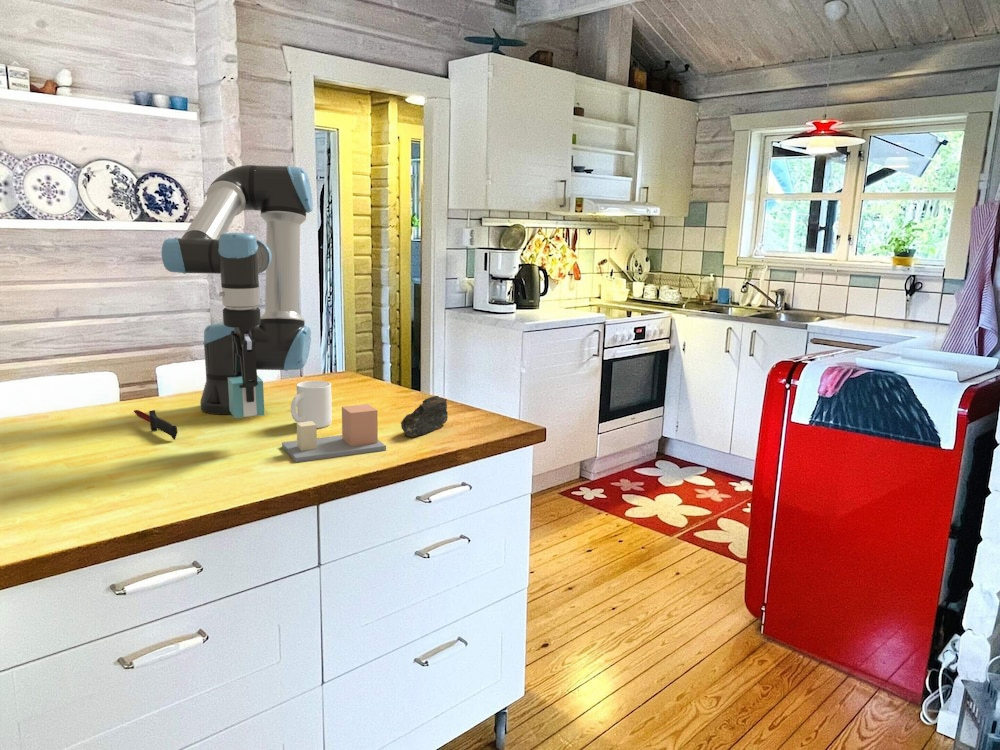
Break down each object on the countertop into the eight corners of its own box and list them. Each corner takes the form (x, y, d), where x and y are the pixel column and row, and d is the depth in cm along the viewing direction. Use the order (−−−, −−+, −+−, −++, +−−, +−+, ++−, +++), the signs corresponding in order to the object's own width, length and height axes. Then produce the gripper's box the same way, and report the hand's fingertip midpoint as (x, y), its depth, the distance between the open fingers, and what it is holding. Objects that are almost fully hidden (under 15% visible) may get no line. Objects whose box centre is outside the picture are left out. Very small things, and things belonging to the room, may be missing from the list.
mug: (304, 434, 169) (303, 392, 167) (279, 429, 173) (277, 387, 171) (338, 423, 179) (338, 383, 177) (314, 418, 183) (313, 379, 181)
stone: (422, 421, 183) (397, 438, 169) (423, 390, 181) (397, 406, 167) (448, 425, 181) (424, 443, 167) (449, 394, 179) (425, 410, 165)
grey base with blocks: (282, 446, 159) (280, 409, 157) (367, 436, 169) (367, 400, 167) (295, 462, 149) (294, 422, 147) (386, 450, 159) (385, 412, 157)
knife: (178, 441, 161) (177, 420, 160) (171, 442, 160) (170, 421, 159) (137, 420, 177) (135, 400, 176) (131, 421, 176) (129, 401, 175)
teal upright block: (229, 410, 157) (227, 377, 156) (258, 407, 160) (256, 374, 159) (234, 418, 152) (232, 383, 150) (264, 414, 155) (263, 381, 154)
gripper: (215, 301, 157) (221, 402, 162) (230, 314, 141) (237, 425, 146) (250, 300, 161) (255, 399, 166) (269, 312, 145) (274, 421, 150)
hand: (246, 411), depth 156 cm, fingers closed on teal upright block, 6 cm apart
